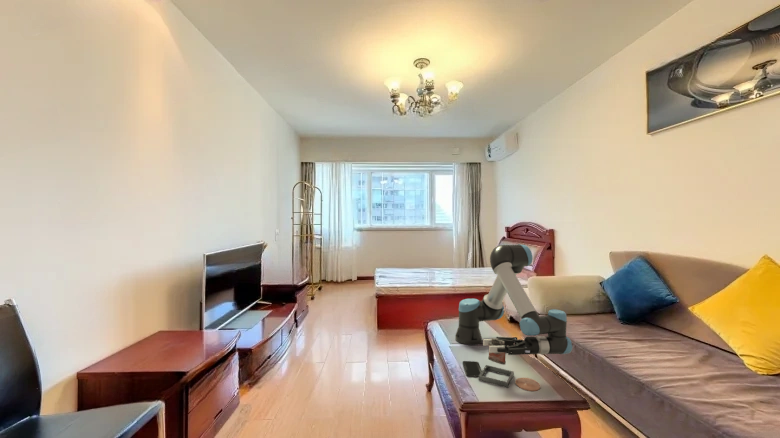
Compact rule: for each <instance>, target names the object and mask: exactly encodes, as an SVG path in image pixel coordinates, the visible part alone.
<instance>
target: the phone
mask: <svg viewBox="0 0 780 438" xmlns="http://www.w3.org/2000/svg"><path fill="white" fill-rule="evenodd" d="M480 365H481V364H480V363H479V362H478V361H475V360H474V361H473V360H472V361H471V360H463V361H462V367H463V370H464V373H465V376H466V377H467V378H478V379H479V374H480V373H481V372H482V370H483V369H482V367H481V366H480ZM483 376H485V374H484V375H483Z"/></svg>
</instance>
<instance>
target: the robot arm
mask: <svg viewBox="0 0 780 438" xmlns="http://www.w3.org/2000/svg"><path fill="white" fill-rule="evenodd" d="M532 262H533V253H532V250H531V249H530V248H529V246H528V245H525V244H520V243H519V244H500V245H499V244H498V245H497V246H494V248H493V249H492V251H491V253H490V255H489V263H490V264H489V265H490V267H491V269H492V272H493V273H494V274H496V277H495V280H494V281H493V284H492V286H491V287H490V290H489V292H488V294H484V296H483V298H482V300H479V299H477V298H465V299H464V298H463V299H462V300H460V301H459V304H458V326H457V327H458V328H457V330H456V333H455V335H454V336H455V341H456V342H458V343H460V344H463V345H468V346H472V345H473V346H475V345H479V344H481V343H482V345H483V347H484V346H486V347H487V346H488V353H489V352H490V353H504V352H505V353H506V354H507V355H508V356H517V355H529V356H530V355H540V356H541V355H567V354H571V352H572V351H573V343H572V340H571V338H570V337H569V336H567V322H568V319H567V313H566V312H565V311H564V310H560V309H555V308H554V309H549V310H548V312H547V315H541V316H540V315H539V313H538V312H537V310H536V308H535V307H534V305H533V303H532V301H531V300H530V298H529V296H528V294H527V292H526V291H525V289H524V286H522V283H521V282H520V280H519V279H518V277H517V274H521V273H522V271H523V270H524V267H529V266H530V265H531V264H532ZM507 294H508V297H509V298H510V300H511V303H512V304H513V306H514V308H515V310H516V311H517V314H518V315H519V317H520V319H521V320H520V321H519V327H520V330H521V333H522V334H524V335H525V336H526V337H524V339H518V337H517V336H515V337H514V336H513V337H509V336H507V337H506V336H496V338H498V339H499V340H502V341H504V342H505V344H504V346H505V348H504V346H489V342H492V341H491V338H489V339H487V338H486V339H485V338H484V339H483V336H482V334H481V330H480V322H489V321H497V320H500V319H501V318H502V317H503V316H504V315H505V306H504V302H503V301H504V300H505V297H506V295H507ZM541 335H542V336H541ZM543 335H546V336H543ZM496 338H495V339H496ZM502 345H503V344H502Z"/></svg>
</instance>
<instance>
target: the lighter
mask: <svg viewBox="0 0 780 438" xmlns="http://www.w3.org/2000/svg"><path fill="white" fill-rule="evenodd" d="M490 339H491V341H492V342H489V346H504V348H505V345H504V344H505V342H504V341H502V340H499V339H498V338H494V337H491V338H490ZM502 344H503V345H502ZM489 346H488V347H489ZM506 354H507V353H505V352H504V353H490V352H489V351H488V358H487V360H489V361H491V362H493V363H496V364H499V365H504V366H505V365H506V364H507V362H506Z"/></svg>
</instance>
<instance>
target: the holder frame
mask: <svg viewBox="0 0 780 438" xmlns="http://www.w3.org/2000/svg"><path fill="white" fill-rule="evenodd" d="M481 370H482V372H481V373H480V374H479V378H478V381H479V382H484V383H487V384H490V385H491V384H492V385H495V386H500V387H503V388H506V389H509V387H510V385H511V384H512V381H513V379H514V376H515V371H513V370H508V369H504V368H501V367H496V366H492V365H487V364H486V365H484V368H483V369H481ZM487 371H489V372H494V373H498V374H501V375H505V376H508V377H507V378H508V379H507V380H506V381H503V380H501V379H496V378H493V377H489V376H485V374H487ZM483 375H484V376H483Z"/></svg>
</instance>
